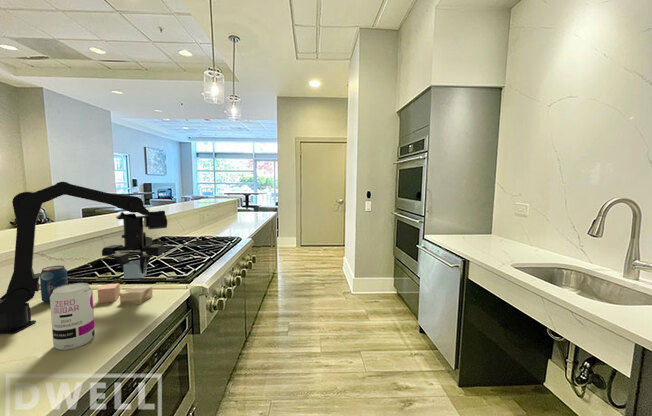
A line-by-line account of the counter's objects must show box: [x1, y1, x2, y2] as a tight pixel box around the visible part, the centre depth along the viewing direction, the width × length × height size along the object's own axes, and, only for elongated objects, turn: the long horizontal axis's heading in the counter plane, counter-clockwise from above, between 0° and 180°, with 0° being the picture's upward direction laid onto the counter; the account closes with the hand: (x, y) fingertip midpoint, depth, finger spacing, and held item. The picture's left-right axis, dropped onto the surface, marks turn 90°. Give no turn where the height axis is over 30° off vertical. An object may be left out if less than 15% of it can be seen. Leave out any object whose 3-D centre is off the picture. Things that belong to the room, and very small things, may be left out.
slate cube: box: [122, 260, 148, 280], centre depth 100 cm, size 5×5×5 cm
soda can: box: [39, 265, 69, 304], centre depth 99 cm, size 7×7×12 cm
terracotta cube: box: [97, 283, 121, 304], centre depth 101 cm, size 5×5×5 cm
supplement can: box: [49, 282, 96, 351], centre depth 73 cm, size 8×8×15 cm
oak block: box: [119, 285, 153, 305], centre depth 101 cm, size 7×7×4 cm
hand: (135, 273), depth 100 cm, fingers closed on slate cube, 5 cm apart
